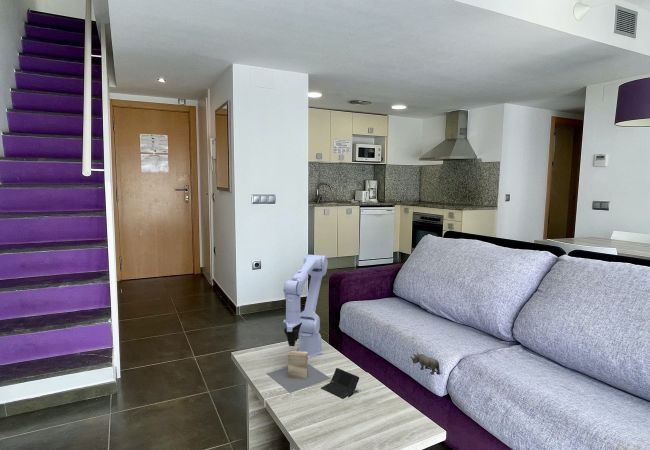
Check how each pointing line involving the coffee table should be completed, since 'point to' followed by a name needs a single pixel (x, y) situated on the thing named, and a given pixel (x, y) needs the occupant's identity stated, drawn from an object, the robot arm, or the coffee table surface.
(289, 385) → the charcoal mat
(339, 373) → the handheld gaming console
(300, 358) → the maple slab
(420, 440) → the coffee table surface
